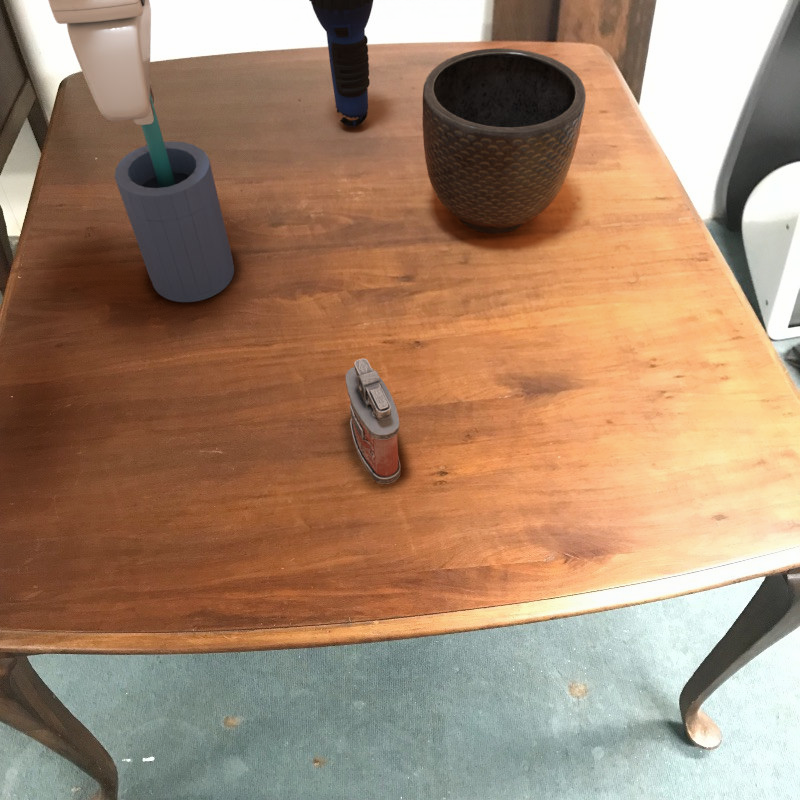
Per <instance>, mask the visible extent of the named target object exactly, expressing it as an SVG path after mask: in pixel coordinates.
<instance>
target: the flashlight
mask: <svg viewBox="0 0 800 800" xmlns="http://www.w3.org/2000/svg"><path fill="white" fill-rule="evenodd" d="M309 2H310V3H311V6H312V9H313V12H314V14H315V16H316V18H317V20H318V23H319V24H320V26H321V28H323V29H324V31H325V32H326V40H327V41H326V42H327V49H328V57H329V66H330V75H331V80H332V89H333V94H334V102H335V109H336V113H339V114H341V115H342V116H343V117H341V119H340V120H339V122H341V123H342V125H344V126H347V127H351V128H353V127H358V126H360V125H362V124H363V123H364V122H365V121H366V119H367V117H368V113H369V112H368V110H369V91H368V90H369V89H368V88H369V87H370V85H371V83H370V78H369V77H370V63H369V60H370V59H369V57H370V56H369V46H368V41H369V39H368V37H367V35H366V31H365V30H366V27H367V26H368V23H369V19H370V17H371V15H372V14H371V13H372V9H373V7H374V6H373V5H374V0H309ZM349 118H350V119H349ZM352 119H353V120H352Z"/></svg>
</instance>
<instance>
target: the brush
mask: <svg viewBox="0 0 800 800" xmlns="http://www.w3.org/2000/svg"><path fill="white" fill-rule="evenodd" d="M150 100H151V104H152V108H153V111H154V121H153V123H151V124H146V125H140V126H141V130H142V133H143V136H144V140H145V143H146V145H147V146H148V150H149V153H150V157H151V160H152V163H153V167H154V170H155V173H156V177H157V180H158V183H159V187H160V188H162V187H169V186H172V185H176V184H175V180H174V177H173V173H172V169H171V166H170V162H169V159H168V155H167V152H166V148H165V144H164V142H165V141H164V137H163V134H162V131H161V127H160V123H159V119H158V115H157V112H156V109H155V105H154V103H153V101H152V98H151V94H150Z"/></svg>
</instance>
